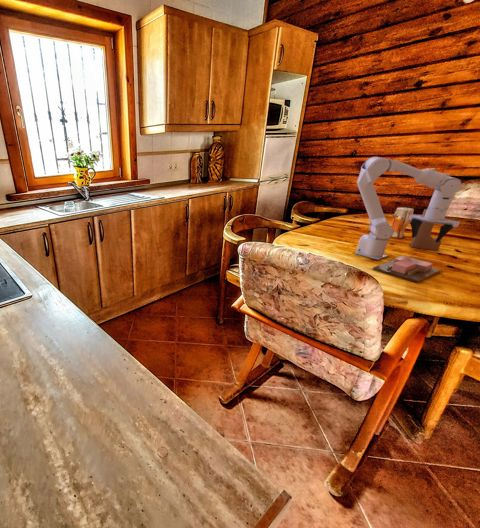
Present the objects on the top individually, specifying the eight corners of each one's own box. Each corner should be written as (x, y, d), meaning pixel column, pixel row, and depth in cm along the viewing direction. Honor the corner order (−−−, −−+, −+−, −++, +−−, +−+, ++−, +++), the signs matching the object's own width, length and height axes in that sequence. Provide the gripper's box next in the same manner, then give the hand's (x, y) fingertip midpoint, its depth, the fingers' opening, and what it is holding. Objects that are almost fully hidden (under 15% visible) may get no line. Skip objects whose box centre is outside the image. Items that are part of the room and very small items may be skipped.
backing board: (372, 269, 115) (375, 261, 114) (396, 260, 122) (398, 253, 120) (416, 283, 103) (420, 274, 102) (439, 272, 110) (443, 264, 109)
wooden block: (436, 248, 131) (452, 210, 124) (437, 251, 128) (454, 213, 121) (410, 244, 137) (424, 208, 130) (411, 247, 134) (425, 210, 127)
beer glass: (383, 234, 152) (392, 207, 146) (395, 234, 152) (404, 206, 146) (395, 238, 145) (405, 210, 139) (407, 237, 146) (418, 209, 140)
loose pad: (390, 269, 112) (393, 263, 111) (401, 266, 114) (403, 259, 113) (404, 274, 108) (406, 267, 107) (414, 270, 110) (417, 263, 109)
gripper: (468, 209, 108) (453, 242, 113) (419, 203, 120) (408, 233, 125) (460, 212, 105) (445, 245, 110) (411, 205, 117) (400, 236, 123)
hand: (425, 239), depth 118 cm, fingers open, 7 cm apart
